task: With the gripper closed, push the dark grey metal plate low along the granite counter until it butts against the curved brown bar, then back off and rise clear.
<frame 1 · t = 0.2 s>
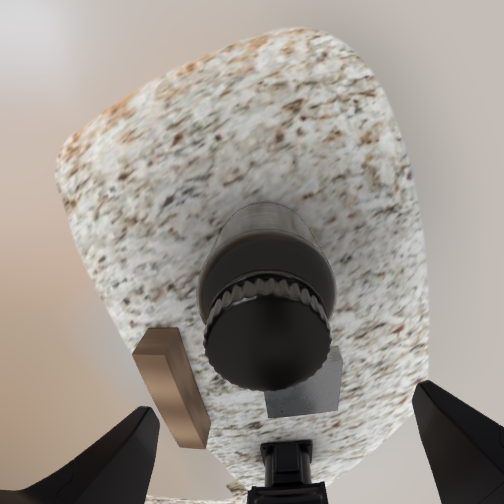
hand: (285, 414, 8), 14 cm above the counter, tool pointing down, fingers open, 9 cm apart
grey metal plate: (300, 375, 26), on the counter
curved brown bar: (182, 383, 26), on the counter
supplement bottle: (266, 246, 21), on the counter
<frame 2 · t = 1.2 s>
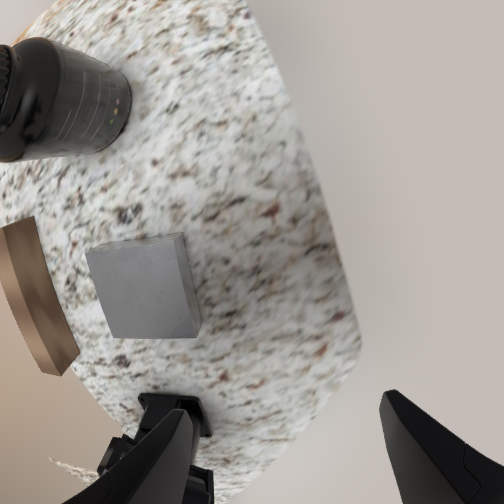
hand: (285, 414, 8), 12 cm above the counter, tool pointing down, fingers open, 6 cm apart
grey metal plate: (150, 281, 20), on the counter
curved brown bar: (44, 290, 21), on the counter
supplement bottle: (95, 110, 16), on the counter
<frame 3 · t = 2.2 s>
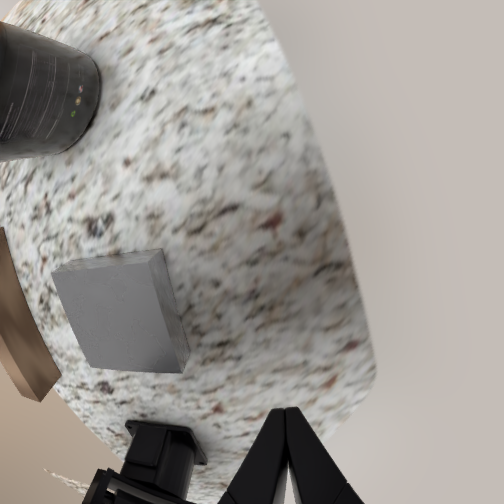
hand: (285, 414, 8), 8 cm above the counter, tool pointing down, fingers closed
grey metal plate: (128, 304, 17), on the counter
curved brown bar: (19, 308, 17), on the counter
supplement bottle: (63, 103, 12), on the counter
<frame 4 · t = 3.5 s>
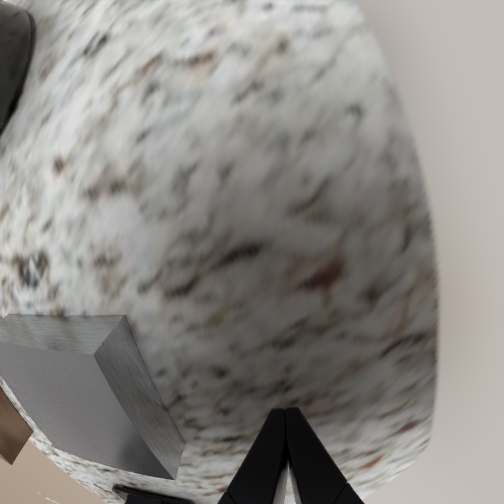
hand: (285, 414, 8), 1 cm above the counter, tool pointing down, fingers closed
grey metal plate: (91, 380, 10), on the counter
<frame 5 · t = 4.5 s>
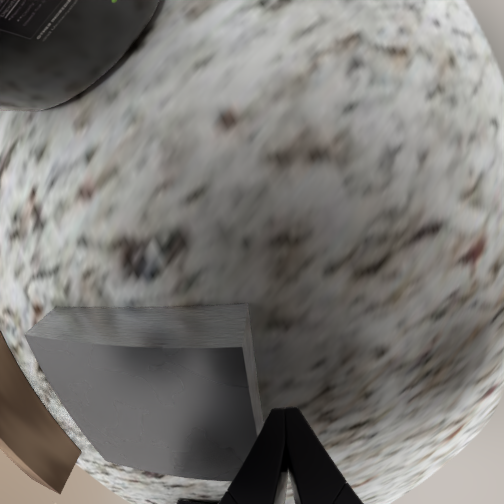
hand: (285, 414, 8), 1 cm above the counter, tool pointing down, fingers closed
grey metal plate: (166, 381, 9), on the counter, touching gripper
curved brown bar: (9, 369, 10), on the counter
supplement bottle: (78, 21, 5), on the counter
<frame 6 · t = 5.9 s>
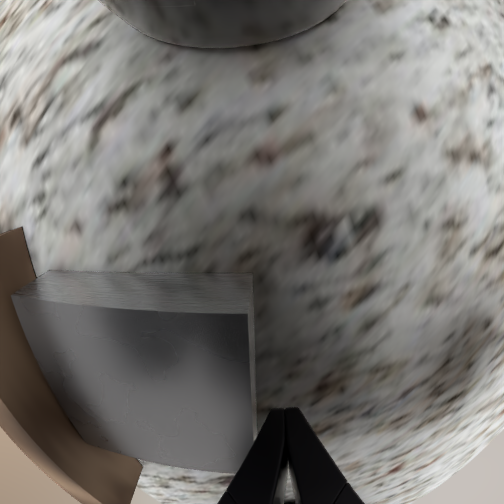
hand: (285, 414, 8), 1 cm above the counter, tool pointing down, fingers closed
grey metal plate: (156, 359, 9), on the counter
curved brown bar: (62, 381, 10), on the counter
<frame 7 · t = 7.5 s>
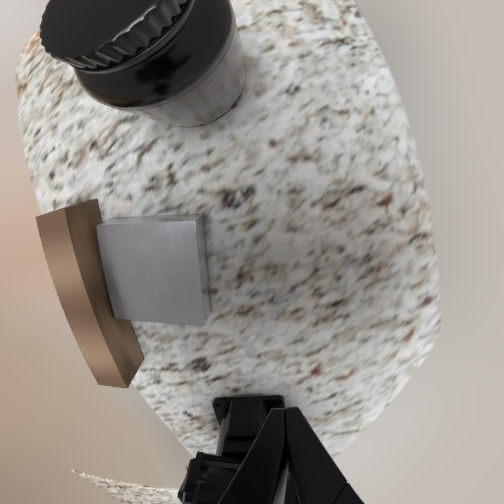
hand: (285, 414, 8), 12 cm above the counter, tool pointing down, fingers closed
grey metal plate: (161, 262, 20), on the counter
curved brown bar: (104, 288, 20), on the counter
supplement bottle: (195, 80, 16), on the counter
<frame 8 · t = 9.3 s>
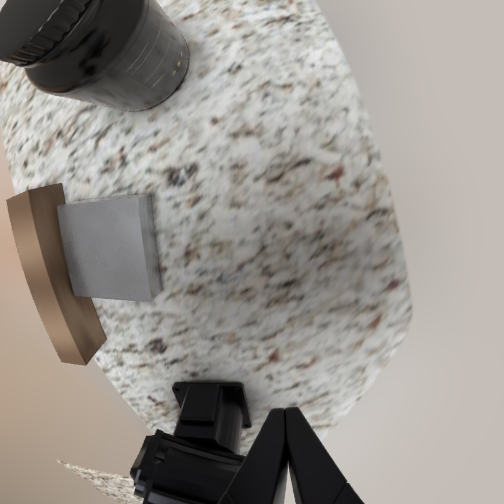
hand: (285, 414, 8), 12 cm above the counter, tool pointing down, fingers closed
grey metal plate: (116, 242, 20), on the counter
curved brown bar: (68, 268, 20), on the counter
supplement bottle: (145, 69, 15), on the counter
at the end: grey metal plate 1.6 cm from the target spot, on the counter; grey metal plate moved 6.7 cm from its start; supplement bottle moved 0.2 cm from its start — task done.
